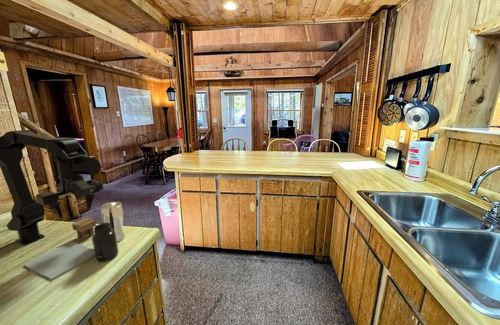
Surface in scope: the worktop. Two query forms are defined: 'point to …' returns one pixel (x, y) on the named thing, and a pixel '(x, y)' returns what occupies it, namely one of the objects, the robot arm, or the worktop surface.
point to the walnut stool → (84, 228)
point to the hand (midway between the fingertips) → (75, 212)
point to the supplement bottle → (104, 242)
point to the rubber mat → (60, 260)
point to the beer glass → (114, 218)
